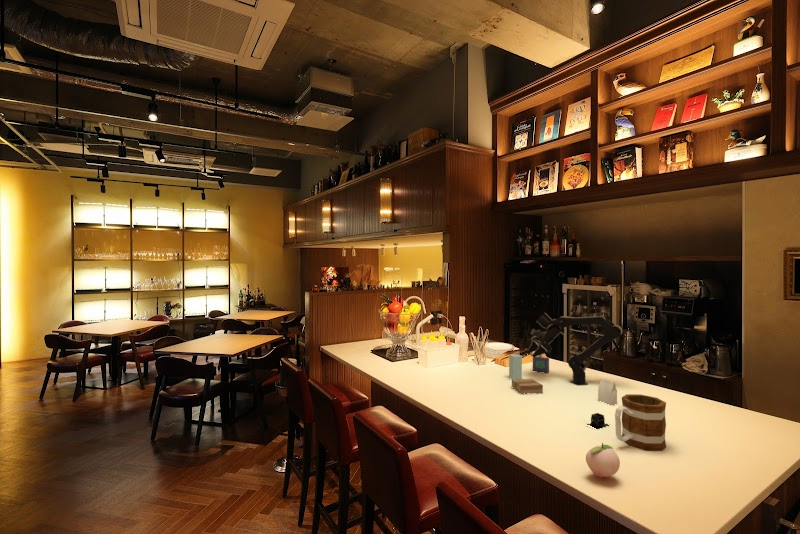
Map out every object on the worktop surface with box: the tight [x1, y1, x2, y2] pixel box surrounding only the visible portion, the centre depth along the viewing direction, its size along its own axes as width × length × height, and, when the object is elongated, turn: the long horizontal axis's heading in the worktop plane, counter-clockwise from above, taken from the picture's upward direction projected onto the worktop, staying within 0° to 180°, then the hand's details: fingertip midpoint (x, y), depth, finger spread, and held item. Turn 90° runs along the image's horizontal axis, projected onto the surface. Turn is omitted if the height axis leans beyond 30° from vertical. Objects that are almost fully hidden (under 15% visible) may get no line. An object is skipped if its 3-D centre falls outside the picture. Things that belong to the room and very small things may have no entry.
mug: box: [614, 393, 667, 452], centre depth 141 cm, size 20×14×15 cm
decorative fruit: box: [585, 442, 621, 479], centre depth 119 cm, size 9×8×10 cm
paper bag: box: [597, 378, 618, 406], centre depth 185 cm, size 4×7×10 cm, turn 24°
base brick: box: [511, 378, 544, 395], centre depth 202 cm, size 11×11×4 cm
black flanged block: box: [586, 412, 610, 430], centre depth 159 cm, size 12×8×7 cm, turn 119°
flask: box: [532, 354, 550, 374], centre depth 237 cm, size 9×3×11 cm, turn 61°
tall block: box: [508, 353, 523, 381], centre depth 222 cm, size 5×5×13 cm
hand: (530, 354), depth 222 cm, fingers open, 9 cm apart
